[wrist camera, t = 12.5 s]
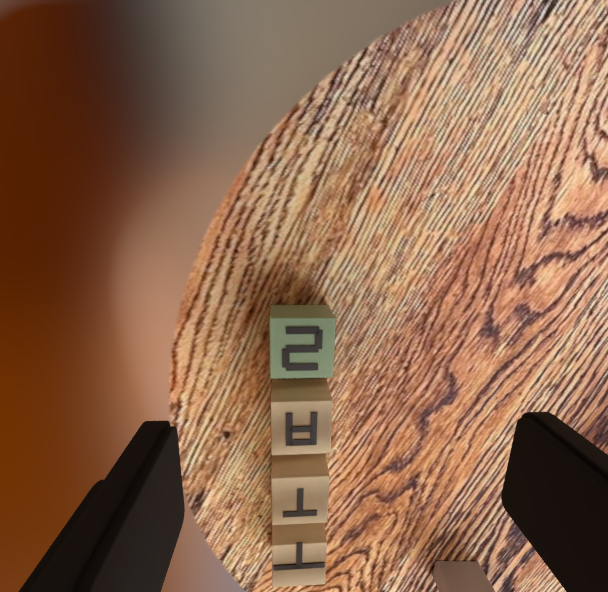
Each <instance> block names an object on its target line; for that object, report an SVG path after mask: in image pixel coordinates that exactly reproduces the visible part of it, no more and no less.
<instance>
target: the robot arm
mask: <svg viewBox="0 0 608 592" xmlns="http://www.w3.org/2000/svg"><path fill="white" fill-rule="evenodd" d="M501 498H502V503H503V506H504V508H505V510H506V511H507V513H508V514H509V516H510V517H511V518H512V519H513V521H514V522H515V523H516V525H517V526H518V527H519V529H520V530H521V531H522V533H523V534H524V535H525V537H526V538H527V539H528V541H529V542H530V543H531V545H532V546H533V547H534V549H535V550H536V551H537V553H538V554H539V555H540V557H541V558H542V559H543V561H544V562H545V563H546V565H547V566H548V567H549V569H550V570H551V571H552V573H553V574H554V575H555V577H556V578H557V579H558V581H559V582H560V583H561V585H562V586H563V587H564V589H565V590H566V591H567V592H608V455H607V454H606V453H604V452H603V451H602V450H600V449H599V448H598V447H596V446H595V445H593V444H592V443H591V442H589V441H588V440H587V439H585V438H584V437H583V436H581V435H580V434H579V433H577V432H576V431H575V430H573V429H572V428H571V427H569V426H568V425H567V424H565V423H564V422H562V421H561V420H560V419H558V418H557V417H556V416H554V415H553V414H551V413H549V412H527V413H524V414H523V415H522V417H521V418H520V419H519V420H518V421H517V425H516V429H515V434H514V439H513V443H512V448H511V453H510V457H509V462H508V467H507V471H506V476H505V481H504V485H503V490H502V495H501ZM183 519H184V497H183V487H182V476H181V466H180V455H179V445H178V434H177V428H176V427H175V426H172V427H170V423H169V421H145V422H144V423H143V424H142V425H141V427H140V428H139V429H138V431H137V432H136V434H135V435H134V437H133V438H132V440H131V441H130V443H129V444H128V446H127V447H126V449H125V450H124V452H123V453H122V454H121V456H120V457H119V459H118V460H117V462H116V463H115V465H114V466H113V468H112V469H111V471H110V472H109V474H108V475H107V477H106V478H105V480H100V481H98V482H97V483H96V484H95V485H94V486H93V487H92V488H91V490H90V491H89V492H88V494H87V495H86V497H85V498H84V500H83V501H82V502H81V504H80V505H79V507H78V508H77V509H76V511H75V512H74V514H73V515H72V517H71V518H70V520H69V521H68V522H67V524H66V525H65V527H64V528H63V529H62V531H61V532H60V534H59V535H58V537H57V538H56V540H55V541H54V542H53V544H52V545H51V546H50V548H49V549H48V551H47V552H46V554H45V555H44V556H43V558H42V560H41V561H40V562H39V564H38V565H37V566H36V568H35V569H34V571H33V572H32V574H31V575H30V576H29V578H28V579H27V581H26V582H25V584H24V585H23V587H22V588H21V589H20V591H19V592H161V589H162V585H163V583H164V579H165V576H166V573H167V570H168V567H169V564H170V561H171V558H172V555H173V552H174V549H175V546H176V543H177V540H178V537H179V533H180V530H181V527H182V524H183Z"/></svg>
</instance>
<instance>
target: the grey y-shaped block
mask: <svg viewBox="0 0 608 592" xmlns="http://www.w3.org/2000/svg"><path fill="white" fill-rule="evenodd" d="M432 575H433V578H434V580H435V582H436V585H437V587H438V589H439V592H495V591H494V589H493V587H492V585H491V584H490V582H489V580H488V578H487V577H486V575H485V573H484V572H483V570H482V568H481V566H480V565H479V563H478V562H477V561H437V562H435V565H434V569H433V573H432Z"/></svg>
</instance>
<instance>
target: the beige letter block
mask: <svg viewBox="0 0 608 592" xmlns="http://www.w3.org/2000/svg"><path fill="white" fill-rule="evenodd" d="M326 549H327V541H326V534H325V526H324V523H306V524H287V525H272V587H288V586H303V585H318V584H325V573H326Z"/></svg>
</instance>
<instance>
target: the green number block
mask: <svg viewBox="0 0 608 592" xmlns="http://www.w3.org/2000/svg"><path fill="white" fill-rule="evenodd" d="M335 321H336V318H335V316H334V314H333V313H332V311H331V309H330V307H329V305H271V309H270V318H269V335H270V378H325V377H333V368H334V345H335Z"/></svg>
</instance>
